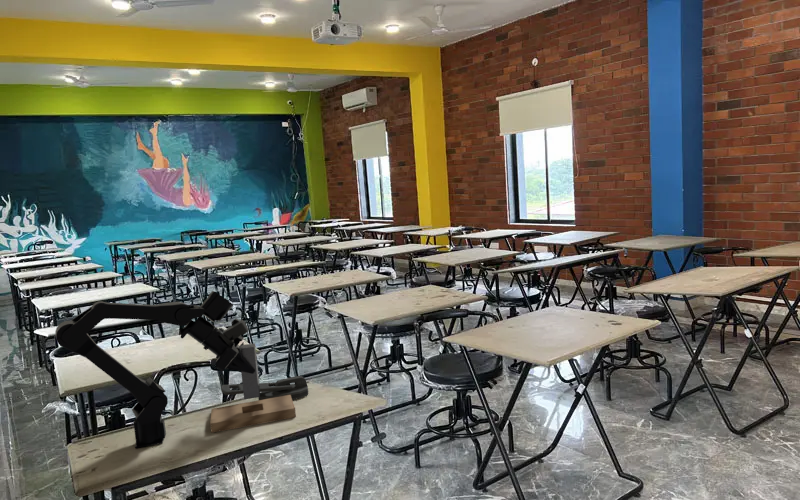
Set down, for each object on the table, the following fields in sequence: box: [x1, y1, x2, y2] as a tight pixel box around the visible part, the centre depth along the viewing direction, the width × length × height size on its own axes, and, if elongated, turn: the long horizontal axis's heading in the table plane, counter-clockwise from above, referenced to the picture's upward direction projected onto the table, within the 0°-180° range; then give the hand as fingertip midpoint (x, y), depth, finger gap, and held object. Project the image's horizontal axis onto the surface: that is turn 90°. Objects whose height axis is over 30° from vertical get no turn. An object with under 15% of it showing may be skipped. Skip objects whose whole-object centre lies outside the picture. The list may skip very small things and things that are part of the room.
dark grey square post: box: [239, 342, 260, 400], centre depth 155 cm, size 4×4×14 cm
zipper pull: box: [220, 375, 309, 401], centre depth 169 cm, size 9×7×25 cm
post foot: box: [209, 395, 297, 434], centre depth 156 cm, size 22×12×2 cm, turn 107°
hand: (254, 370), depth 155 cm, fingers closed on dark grey square post, 4 cm apart
